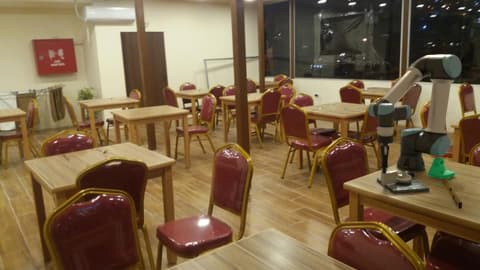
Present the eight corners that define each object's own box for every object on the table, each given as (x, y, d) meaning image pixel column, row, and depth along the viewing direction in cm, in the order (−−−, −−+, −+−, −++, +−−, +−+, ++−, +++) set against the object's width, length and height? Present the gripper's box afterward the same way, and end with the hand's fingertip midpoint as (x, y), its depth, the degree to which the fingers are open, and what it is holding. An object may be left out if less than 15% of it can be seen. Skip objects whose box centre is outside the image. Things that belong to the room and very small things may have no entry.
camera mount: (440, 181, 205) (441, 162, 203) (427, 177, 211) (428, 159, 209) (455, 177, 210) (456, 158, 208) (442, 173, 216) (444, 155, 214)
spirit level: (442, 183, 201) (442, 178, 201) (445, 183, 201) (445, 178, 200) (458, 208, 170) (458, 202, 170) (461, 209, 170) (462, 202, 169)
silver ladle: (403, 177, 205) (403, 166, 204) (415, 181, 198) (415, 170, 197) (377, 182, 199) (377, 171, 198) (388, 187, 192) (388, 175, 191)
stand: (411, 178, 210) (411, 169, 209) (431, 191, 190) (432, 181, 189) (376, 181, 209) (376, 172, 208) (393, 194, 189) (393, 184, 188)
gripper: (376, 131, 202) (375, 175, 207) (378, 137, 189) (376, 183, 194) (392, 132, 200) (390, 176, 204) (394, 137, 187) (392, 184, 192)
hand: (383, 179), depth 199 cm, fingers closed
